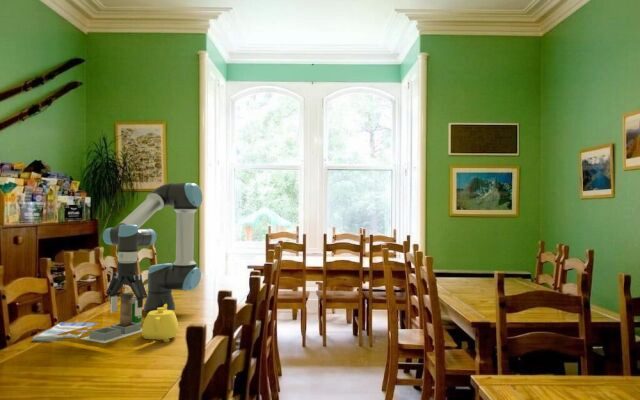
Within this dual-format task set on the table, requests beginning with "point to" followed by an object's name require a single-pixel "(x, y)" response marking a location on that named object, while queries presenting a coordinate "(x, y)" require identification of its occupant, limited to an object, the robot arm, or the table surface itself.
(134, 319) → the soda can
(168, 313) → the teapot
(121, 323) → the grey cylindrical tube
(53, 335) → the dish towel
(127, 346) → the table surface
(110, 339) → the board
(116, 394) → the table surface
